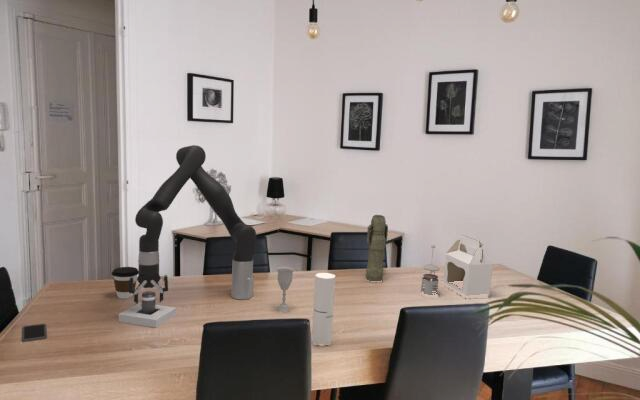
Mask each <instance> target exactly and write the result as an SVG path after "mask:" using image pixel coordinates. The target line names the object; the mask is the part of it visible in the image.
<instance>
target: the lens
mask: <svg viewBox="0 0 640 400" xmlns="http://www.w3.org/2000/svg"><path fill="white" fill-rule="evenodd" d="M156 297H157V294H156V292H155V291H151V290H150V291H145V292H141V302H142V314H148V315H152V314H153V313H155V305H156V300H157V298H156Z"/></svg>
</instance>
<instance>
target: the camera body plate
mask: <svg viewBox="0 0 640 400" xmlns="http://www.w3.org/2000/svg"><path fill="white" fill-rule="evenodd" d="M175 316H177V307H173V306H166V305H160V304H155V313H153V314H152V315H148V314H142V301H141V302H138V304H135V305H133V306H131V307H129V308H128V309H126V310H124V311H122V312H120V313H118V322H119V323H124V324H131V325H136V326H143V327H149V328H158V327H160V326H161V325H163V324H165V323H167V321H168V322H169V320H171V319H172V318H174V317H175Z"/></svg>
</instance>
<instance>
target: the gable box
mask: <svg viewBox="0 0 640 400" xmlns="http://www.w3.org/2000/svg"><path fill="white" fill-rule="evenodd" d="M483 245H484V243H481V241H480V240H477V239H474V238H471V237H469V236H467V235H463V234H461V235H460V239H458V240H456V241H455V242H454V244H453V245H452V246H451V247H450V248H449V249H448V251H447V252H446V253H445V260H444V271H443V278H442V279H443V280H442V281H443V282H444V283H446V284H447V285H449V286H451V287H453V288H454V289H456V290H458V291H459V292H461V293H463V294H464V295H466V296H468V295H469V296H470V295H480V294H489V295H490V294H491V293H490V292H491V284H492V273H493V263H492V261H491V259H490V258H489V256H488V254H487V252H486V250H485V249H484V248H483ZM466 247H469V248H471V249H473V250H475V252H474V254H470V253H468V251H467V248H466ZM454 281H463V287H462V289H460V288H458V286H457V285H455V284H453V283H449V282H454Z"/></svg>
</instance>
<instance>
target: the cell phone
mask: <svg viewBox="0 0 640 400" xmlns="http://www.w3.org/2000/svg"><path fill="white" fill-rule="evenodd" d="M47 331H48V330H47V325H46V323H40V324H31V325H24V326H22V332H21V333H22V334H21V337H22V338H21V341H22V343H25V342H33V341H40V340H47V338H48V334H47Z"/></svg>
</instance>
